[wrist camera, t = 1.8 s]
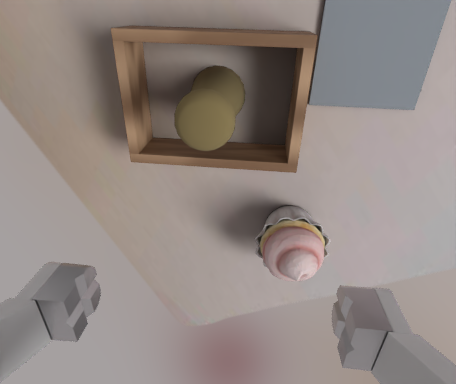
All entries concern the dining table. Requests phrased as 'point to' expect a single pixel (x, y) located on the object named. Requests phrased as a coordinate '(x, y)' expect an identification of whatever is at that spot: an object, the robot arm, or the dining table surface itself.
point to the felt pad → (375, 52)
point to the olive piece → (210, 109)
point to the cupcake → (292, 244)
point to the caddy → (231, 151)
